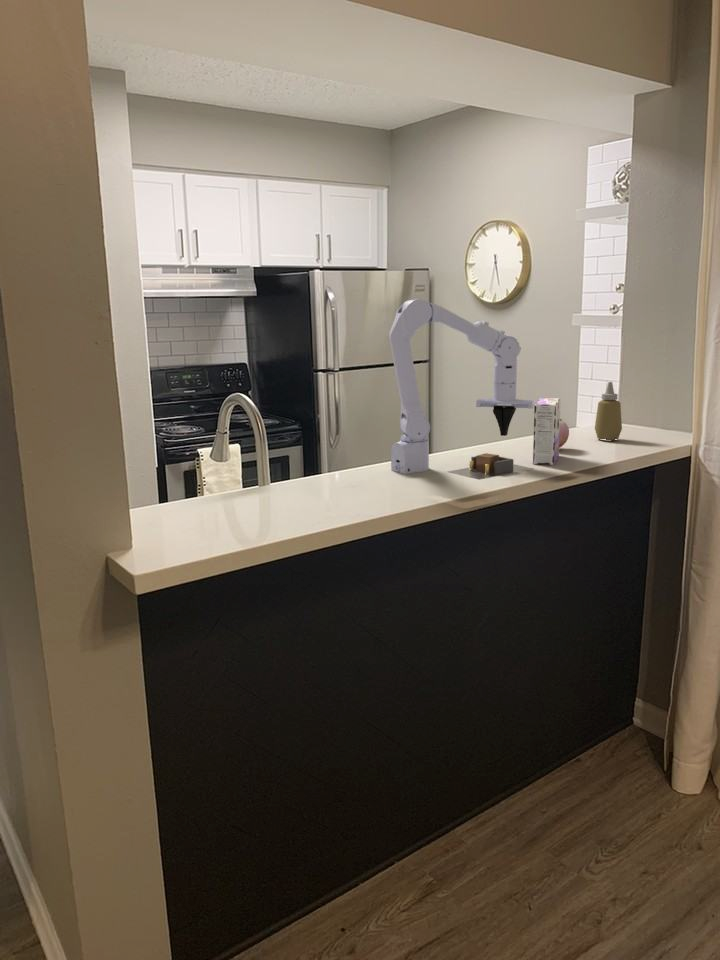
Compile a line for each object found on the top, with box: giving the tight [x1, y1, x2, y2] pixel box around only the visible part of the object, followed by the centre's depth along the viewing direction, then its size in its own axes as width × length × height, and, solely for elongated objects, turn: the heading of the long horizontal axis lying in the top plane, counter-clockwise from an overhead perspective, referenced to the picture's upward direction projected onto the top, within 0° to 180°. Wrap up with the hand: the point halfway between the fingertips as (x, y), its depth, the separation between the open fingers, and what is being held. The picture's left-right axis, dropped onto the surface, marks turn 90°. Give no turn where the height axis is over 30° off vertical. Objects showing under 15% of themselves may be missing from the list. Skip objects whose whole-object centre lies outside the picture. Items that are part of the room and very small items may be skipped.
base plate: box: [446, 459, 535, 480], centre depth 198 cm, size 19×12×4 cm, turn 124°
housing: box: [470, 455, 514, 474], centre depth 198 cm, size 6×9×3 cm, turn 34°
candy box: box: [532, 397, 561, 466], centre depth 213 cm, size 14×6×16 cm, turn 161°
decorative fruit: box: [559, 418, 570, 449], centre depth 228 cm, size 9×8×10 cm
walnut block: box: [475, 452, 500, 473], centre depth 197 cm, size 4×4×4 cm
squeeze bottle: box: [594, 381, 623, 440], centre depth 240 cm, size 8×8×18 cm
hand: (503, 435), depth 204 cm, fingers closed
